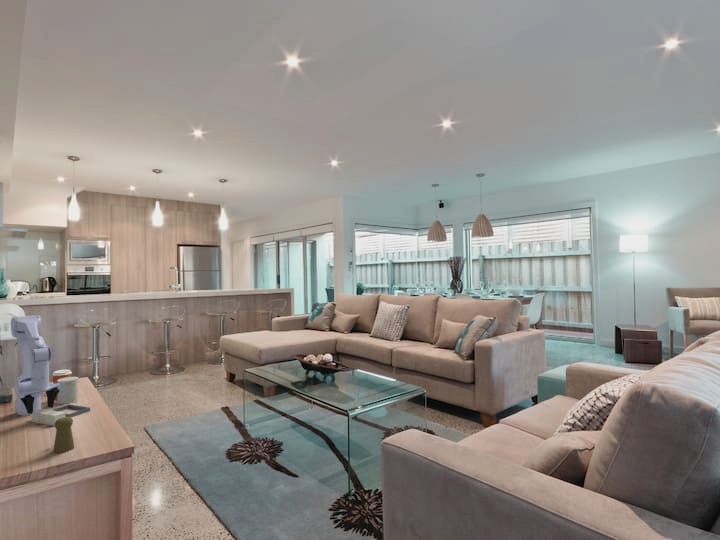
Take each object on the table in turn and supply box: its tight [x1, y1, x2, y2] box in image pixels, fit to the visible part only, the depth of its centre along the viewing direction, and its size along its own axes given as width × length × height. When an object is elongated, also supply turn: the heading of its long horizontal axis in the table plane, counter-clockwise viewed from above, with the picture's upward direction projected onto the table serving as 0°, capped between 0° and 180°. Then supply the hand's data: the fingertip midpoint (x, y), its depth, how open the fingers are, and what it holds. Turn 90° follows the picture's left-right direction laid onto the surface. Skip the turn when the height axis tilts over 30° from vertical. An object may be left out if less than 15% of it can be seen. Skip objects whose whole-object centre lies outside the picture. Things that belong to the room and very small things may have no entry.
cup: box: [56, 376, 80, 405], centre depth 189 cm, size 8×8×12 cm
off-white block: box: [48, 411, 66, 427], centre depth 161 cm, size 4×4×4 cm
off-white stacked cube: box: [40, 409, 57, 424], centre depth 162 cm, size 4×4×4 cm
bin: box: [51, 403, 91, 418], centre depth 173 cm, size 13×9×3 cm
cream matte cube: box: [31, 408, 49, 423], centre depth 164 cm, size 4×4×4 cm
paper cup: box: [51, 369, 73, 402], centre depth 196 cm, size 8×8×14 cm
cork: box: [52, 417, 75, 454], centre depth 141 cm, size 6×6×11 cm
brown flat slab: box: [24, 419, 55, 428], centre depth 163 cm, size 16×7×2 cm, turn 70°
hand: (40, 410), depth 164 cm, fingers open, 7 cm apart
